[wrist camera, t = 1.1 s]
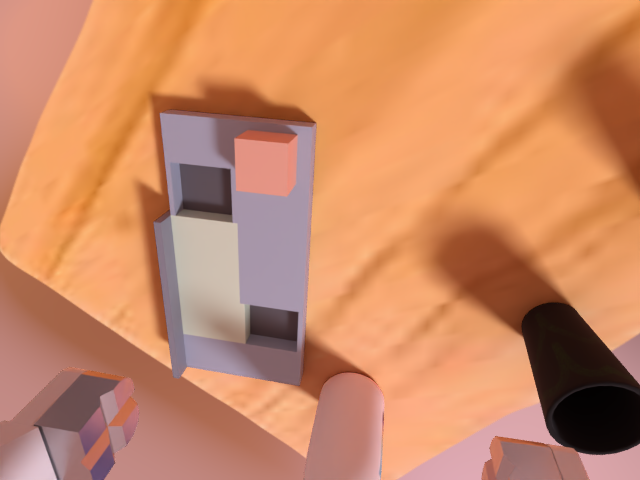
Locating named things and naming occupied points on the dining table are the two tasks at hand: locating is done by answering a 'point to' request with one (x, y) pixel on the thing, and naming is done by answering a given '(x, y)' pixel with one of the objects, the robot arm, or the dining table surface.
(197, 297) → the board
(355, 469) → the milk bottle
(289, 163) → the block
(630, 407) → the cup
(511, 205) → the dining table surface
